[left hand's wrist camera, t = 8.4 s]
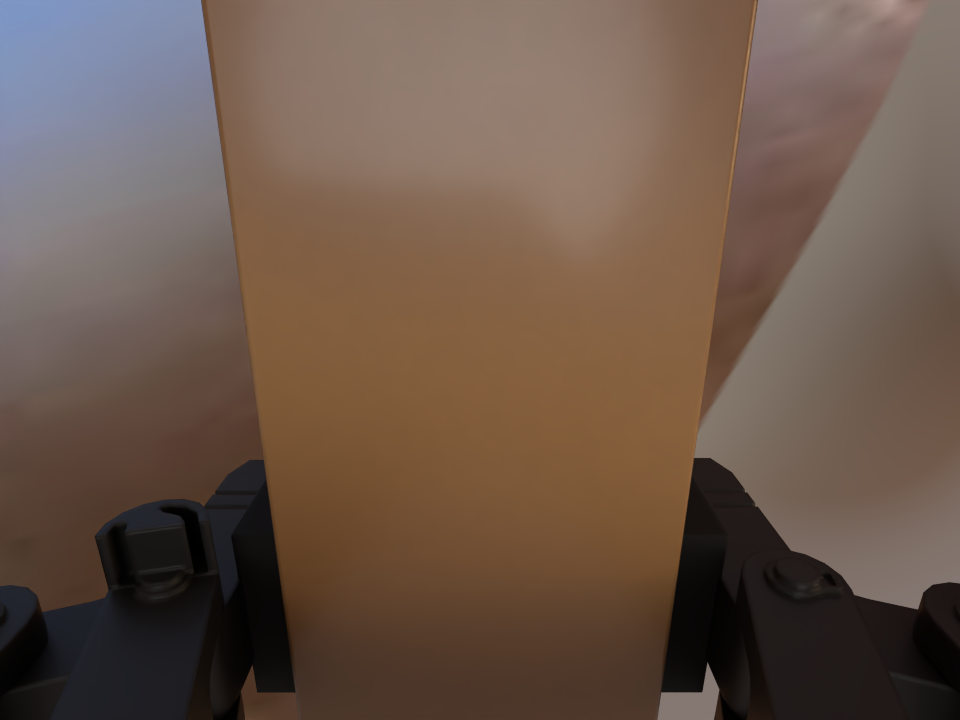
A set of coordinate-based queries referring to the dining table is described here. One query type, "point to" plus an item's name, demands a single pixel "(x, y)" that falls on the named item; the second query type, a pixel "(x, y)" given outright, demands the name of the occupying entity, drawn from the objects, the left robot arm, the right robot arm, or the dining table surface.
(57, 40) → the dining table surface
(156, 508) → the left robot arm
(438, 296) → the post
